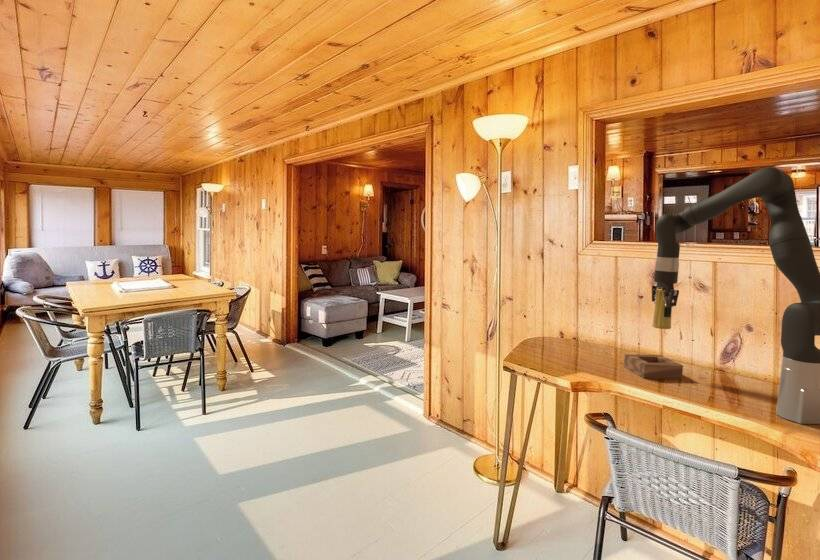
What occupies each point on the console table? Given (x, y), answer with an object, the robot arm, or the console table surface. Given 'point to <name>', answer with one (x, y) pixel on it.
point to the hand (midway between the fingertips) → (662, 315)
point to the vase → (661, 312)
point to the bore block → (653, 366)
